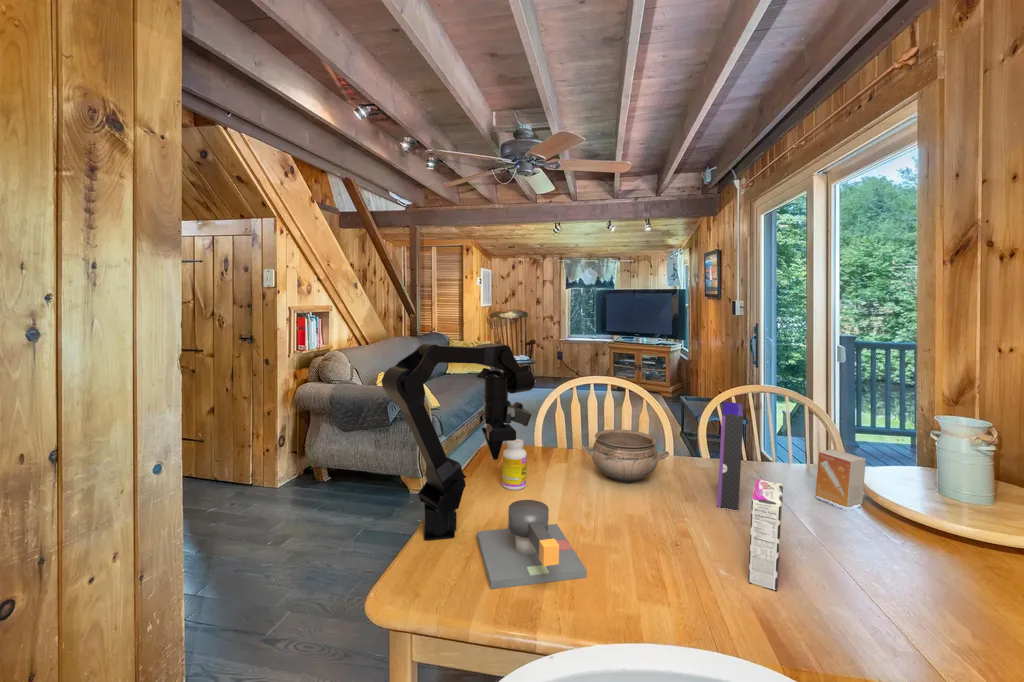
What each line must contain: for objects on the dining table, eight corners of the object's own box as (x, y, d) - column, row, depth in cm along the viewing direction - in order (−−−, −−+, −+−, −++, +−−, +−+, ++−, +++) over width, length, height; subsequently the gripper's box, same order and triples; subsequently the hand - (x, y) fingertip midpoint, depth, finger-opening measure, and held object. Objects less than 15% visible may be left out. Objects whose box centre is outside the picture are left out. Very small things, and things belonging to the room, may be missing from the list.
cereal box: (718, 483, 130) (723, 401, 128) (737, 486, 128) (741, 403, 126) (717, 507, 114) (721, 414, 113) (738, 511, 112) (743, 416, 110)
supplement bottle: (523, 492, 122) (524, 445, 121) (500, 489, 124) (500, 443, 123) (527, 482, 129) (528, 438, 128) (505, 480, 130) (505, 436, 129)
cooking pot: (663, 470, 140) (665, 431, 139) (672, 495, 121) (674, 451, 120) (582, 463, 145) (583, 426, 144) (578, 486, 126) (579, 443, 125)
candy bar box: (750, 555, 93) (755, 477, 91) (779, 563, 90) (784, 483, 89) (745, 583, 83) (751, 497, 82) (777, 593, 80) (783, 504, 79)
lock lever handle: (503, 521, 93) (504, 501, 93) (540, 517, 95) (540, 498, 95) (529, 568, 77) (529, 544, 76) (572, 562, 79) (573, 539, 79)
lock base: (491, 589, 80) (491, 558, 80) (477, 537, 98) (477, 512, 97) (586, 577, 84) (587, 548, 84) (556, 530, 102) (557, 505, 101)
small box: (814, 499, 120) (818, 451, 119) (830, 495, 123) (833, 448, 122) (847, 511, 113) (851, 461, 112) (862, 507, 116) (866, 458, 114)
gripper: (538, 403, 101) (537, 471, 102) (519, 388, 119) (518, 445, 121) (489, 404, 99) (489, 474, 100) (477, 389, 117) (477, 448, 118)
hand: (495, 459), depth 110 cm, fingers closed
